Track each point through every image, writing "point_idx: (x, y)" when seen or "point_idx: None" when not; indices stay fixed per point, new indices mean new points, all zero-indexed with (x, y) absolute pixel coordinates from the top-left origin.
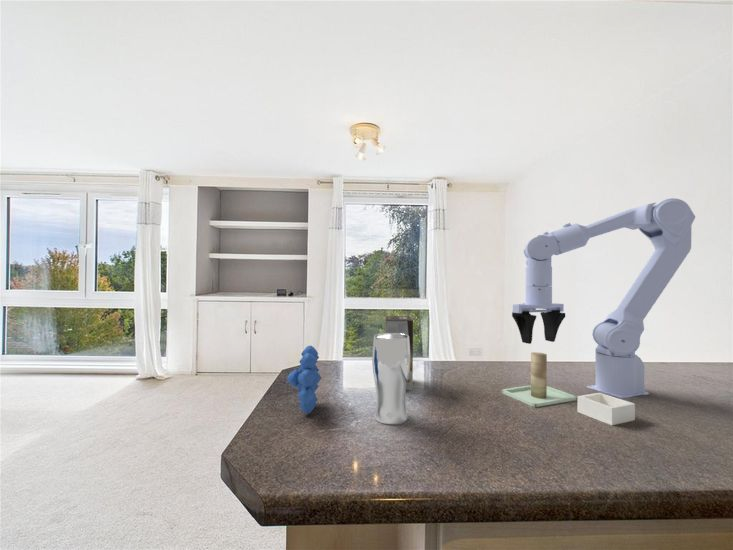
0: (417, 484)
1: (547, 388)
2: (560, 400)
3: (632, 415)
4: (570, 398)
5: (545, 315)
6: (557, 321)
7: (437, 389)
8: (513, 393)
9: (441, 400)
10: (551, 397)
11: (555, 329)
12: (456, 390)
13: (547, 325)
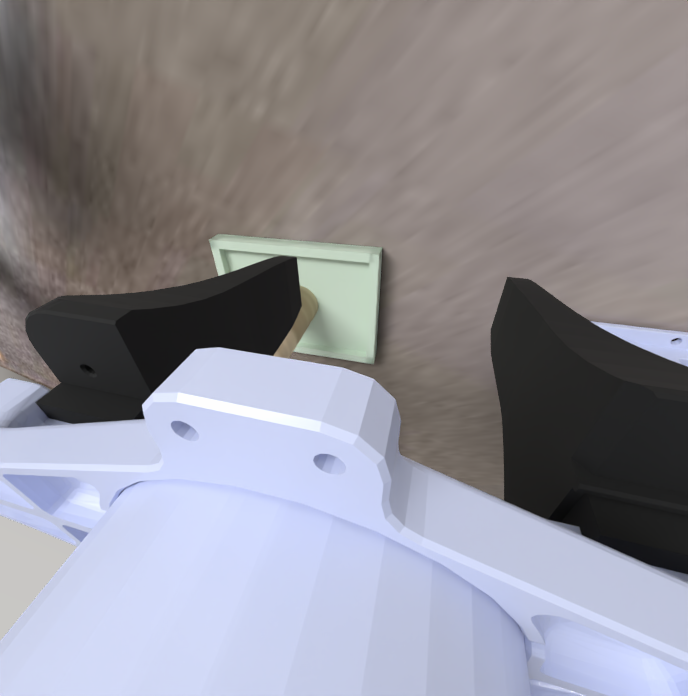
0: (37, 375)
1: (369, 284)
2: (313, 353)
3: None
4: (347, 358)
5: (566, 432)
6: (509, 479)
7: (35, 97)
8: (244, 260)
9: (52, 197)
10: (324, 323)
11: (502, 407)
12: (97, 135)
13: (533, 363)
